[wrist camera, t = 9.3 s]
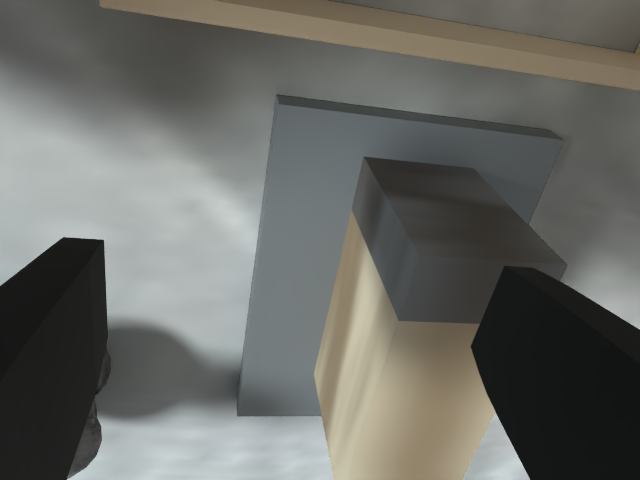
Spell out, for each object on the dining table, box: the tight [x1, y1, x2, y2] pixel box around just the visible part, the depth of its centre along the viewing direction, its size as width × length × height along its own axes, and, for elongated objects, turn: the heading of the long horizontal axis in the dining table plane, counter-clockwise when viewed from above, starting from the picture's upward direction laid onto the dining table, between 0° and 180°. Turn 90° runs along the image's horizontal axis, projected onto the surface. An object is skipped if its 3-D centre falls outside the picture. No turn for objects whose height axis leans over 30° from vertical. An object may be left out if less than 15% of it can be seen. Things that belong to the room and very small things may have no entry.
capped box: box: [314, 156, 567, 480], centre depth 18 cm, size 4×10×6 cm, turn 170°
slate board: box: [237, 95, 564, 416], centre depth 21 cm, size 10×14×1 cm
